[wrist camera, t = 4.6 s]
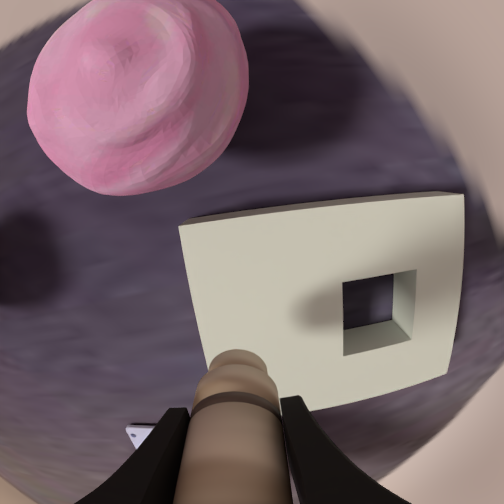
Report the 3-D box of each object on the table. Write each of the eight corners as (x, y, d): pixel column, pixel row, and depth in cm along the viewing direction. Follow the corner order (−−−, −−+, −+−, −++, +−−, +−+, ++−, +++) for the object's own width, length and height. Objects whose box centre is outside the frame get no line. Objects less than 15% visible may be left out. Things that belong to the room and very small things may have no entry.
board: (427, 353, 20) (446, 373, 17) (224, 393, 20) (222, 421, 17) (436, 191, 17) (463, 194, 14) (189, 218, 17) (178, 226, 14)
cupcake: (248, 186, 17) (254, 193, 7) (105, 194, 17) (-11, 215, 7) (245, 43, 15) (249, -68, 5) (108, 59, 15) (19, -10, 5)
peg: (279, 394, 12) (301, 566, 4) (210, 403, 12) (188, 568, 4) (269, 337, 11) (296, 534, 4) (193, 347, 11) (142, 533, 4)
